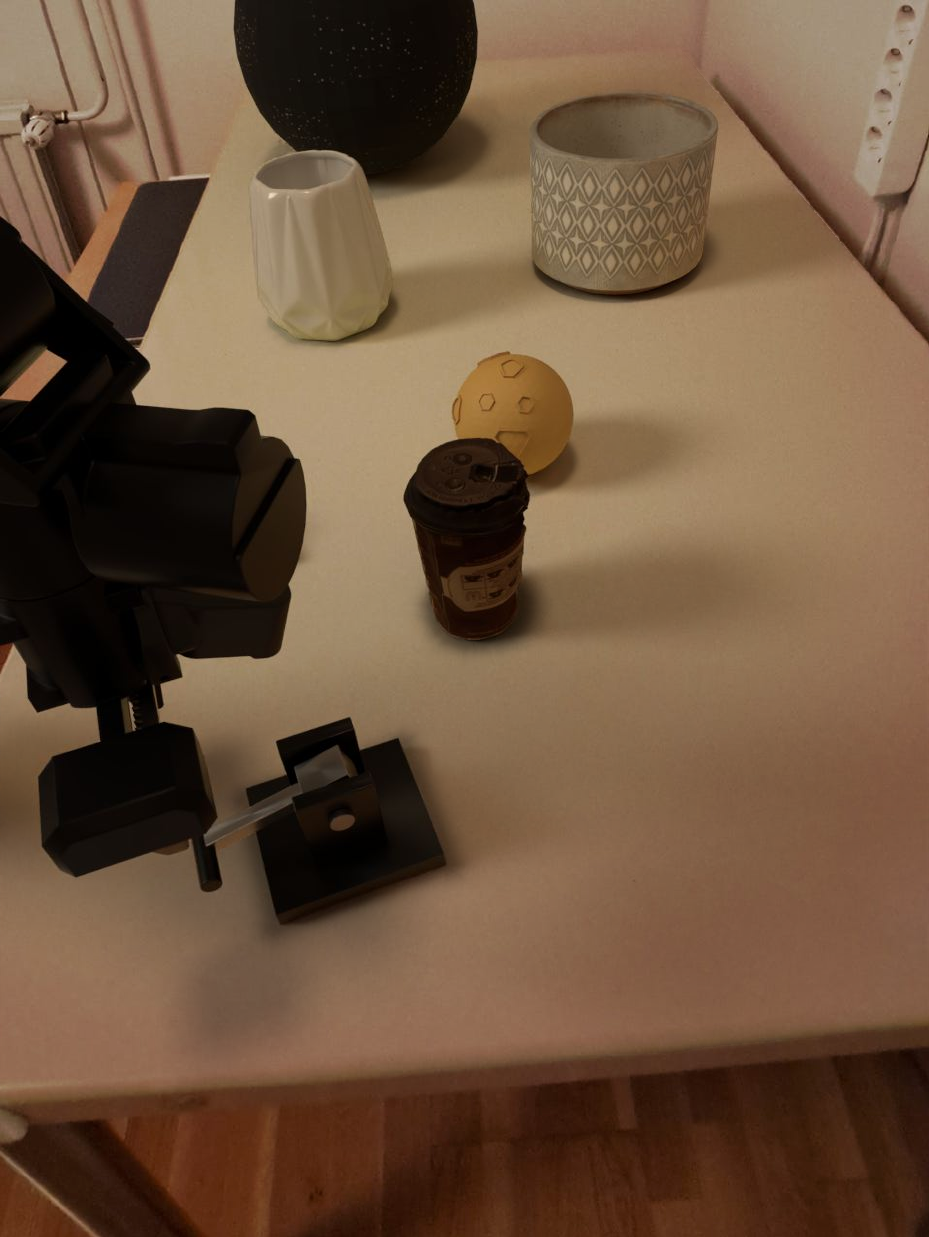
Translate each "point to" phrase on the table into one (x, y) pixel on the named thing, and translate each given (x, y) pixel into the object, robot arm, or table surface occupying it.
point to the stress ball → (516, 408)
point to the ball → (358, 72)
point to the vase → (318, 245)
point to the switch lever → (266, 812)
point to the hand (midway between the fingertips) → (165, 774)
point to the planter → (620, 190)
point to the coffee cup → (470, 533)
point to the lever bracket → (344, 825)
